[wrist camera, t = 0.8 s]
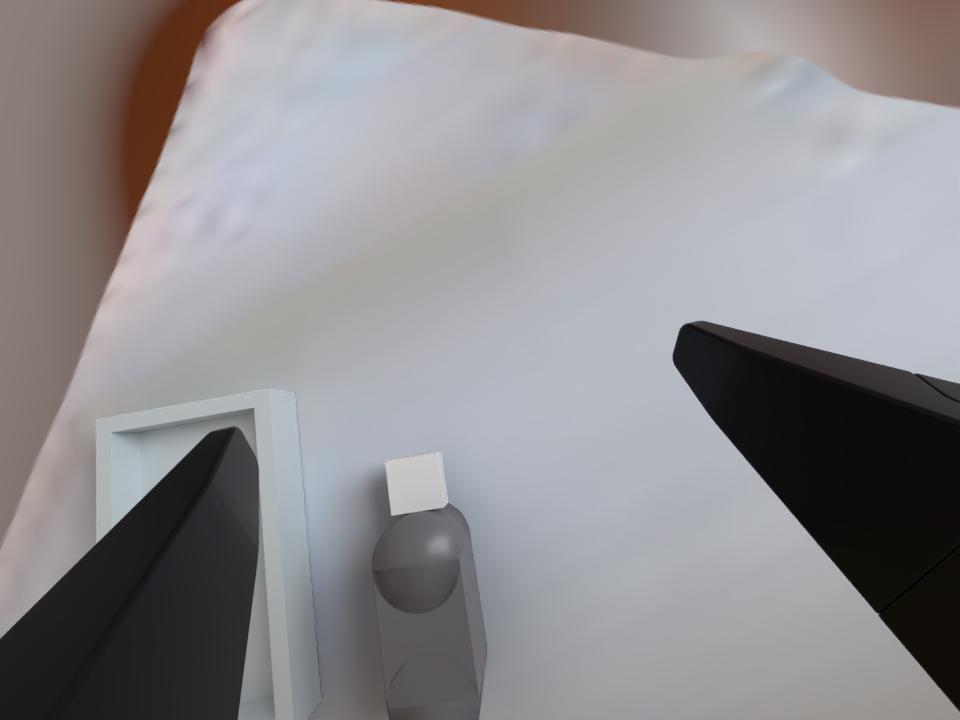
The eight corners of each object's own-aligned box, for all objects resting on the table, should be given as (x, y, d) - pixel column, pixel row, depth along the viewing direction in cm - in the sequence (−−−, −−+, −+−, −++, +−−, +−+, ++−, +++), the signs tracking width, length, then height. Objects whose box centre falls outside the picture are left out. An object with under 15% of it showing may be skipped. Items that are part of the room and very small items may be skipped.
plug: (492, 683, 19) (487, 751, 15) (418, 693, 19) (393, 762, 15) (457, 447, 21) (443, 452, 17) (389, 458, 21) (360, 466, 17)
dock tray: (321, 699, 19) (294, 738, 17) (145, 723, 20) (96, 763, 18) (295, 392, 22) (268, 388, 20) (139, 419, 22) (95, 418, 20)
